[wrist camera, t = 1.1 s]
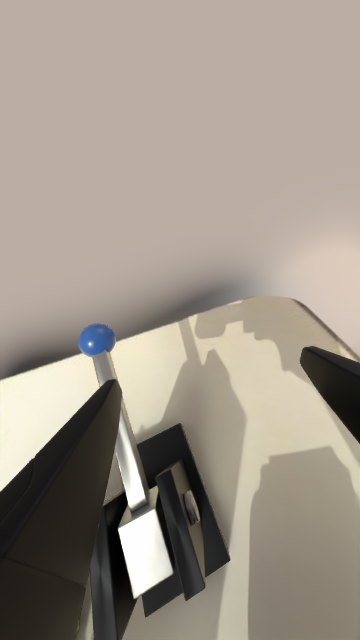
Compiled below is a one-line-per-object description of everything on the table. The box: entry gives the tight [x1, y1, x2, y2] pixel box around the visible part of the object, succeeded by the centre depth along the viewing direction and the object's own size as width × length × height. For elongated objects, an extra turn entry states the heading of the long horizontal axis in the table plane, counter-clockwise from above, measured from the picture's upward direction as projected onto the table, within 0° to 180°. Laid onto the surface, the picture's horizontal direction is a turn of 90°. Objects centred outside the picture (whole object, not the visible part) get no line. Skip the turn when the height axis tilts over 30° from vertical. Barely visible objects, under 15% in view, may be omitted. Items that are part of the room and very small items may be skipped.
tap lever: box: [78, 323, 175, 599], centre depth 12 cm, size 15×3×3 cm, turn 24°
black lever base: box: [90, 423, 230, 640], centre depth 12 cm, size 10×7×10 cm
